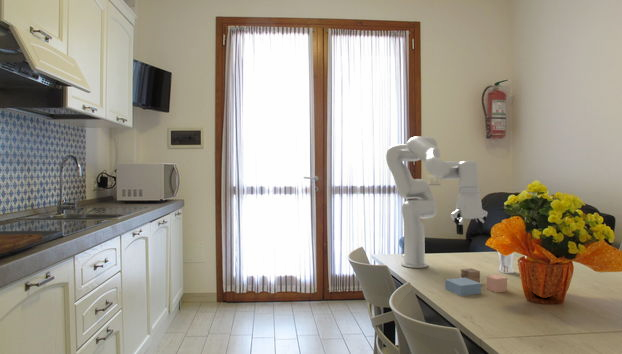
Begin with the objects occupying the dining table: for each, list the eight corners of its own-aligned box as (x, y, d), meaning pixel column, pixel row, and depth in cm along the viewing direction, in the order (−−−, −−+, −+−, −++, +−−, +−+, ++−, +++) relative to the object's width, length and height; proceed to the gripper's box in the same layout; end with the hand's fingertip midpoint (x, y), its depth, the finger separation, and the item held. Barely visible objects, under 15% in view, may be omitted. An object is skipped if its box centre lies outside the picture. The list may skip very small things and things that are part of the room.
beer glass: (498, 272, 177) (497, 239, 176) (497, 269, 183) (497, 236, 183) (515, 274, 174) (515, 239, 174) (514, 270, 181) (514, 237, 180)
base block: (445, 289, 154) (445, 279, 154) (465, 287, 157) (465, 277, 156) (460, 296, 145) (460, 285, 145) (481, 294, 148) (481, 283, 148)
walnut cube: (461, 281, 164) (461, 269, 164) (471, 280, 166) (471, 268, 166) (469, 284, 160) (469, 272, 160) (479, 283, 161) (479, 271, 161)
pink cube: (486, 288, 154) (486, 275, 154) (497, 287, 155) (496, 274, 155) (496, 292, 149) (496, 279, 149) (507, 291, 151) (507, 278, 150)
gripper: (479, 190, 169) (480, 231, 169) (444, 191, 164) (446, 233, 163) (492, 190, 162) (494, 233, 162) (456, 192, 156) (458, 236, 156)
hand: (469, 233), depth 162 cm, fingers open, 9 cm apart
